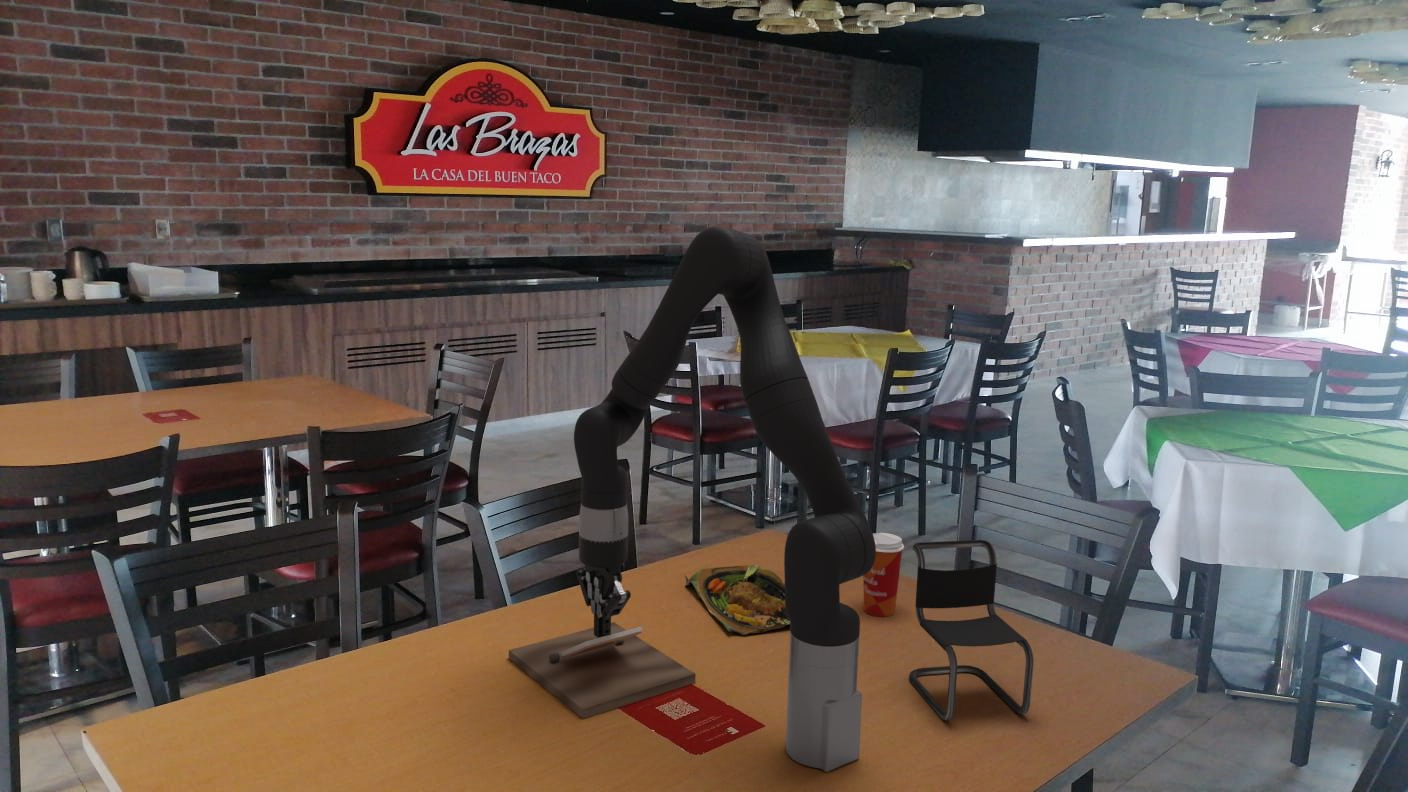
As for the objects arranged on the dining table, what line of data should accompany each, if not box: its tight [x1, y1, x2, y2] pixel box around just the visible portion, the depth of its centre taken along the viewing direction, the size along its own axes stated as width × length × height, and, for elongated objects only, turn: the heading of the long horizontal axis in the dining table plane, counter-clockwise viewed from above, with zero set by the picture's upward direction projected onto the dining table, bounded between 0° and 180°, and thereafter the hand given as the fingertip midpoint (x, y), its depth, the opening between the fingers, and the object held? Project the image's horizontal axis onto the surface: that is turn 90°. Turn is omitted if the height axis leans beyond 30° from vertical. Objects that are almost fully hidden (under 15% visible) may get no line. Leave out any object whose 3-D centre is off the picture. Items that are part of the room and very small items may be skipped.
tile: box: [559, 626, 644, 659], centre depth 160 cm, size 10×10×1 cm
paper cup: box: [862, 532, 905, 618], centre depth 186 cm, size 8×8×14 cm
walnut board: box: [508, 621, 697, 720], centre depth 160 cm, size 24×20×3 cm
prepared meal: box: [684, 564, 790, 636], centre depth 189 cm, size 28×4×18 cm
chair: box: [908, 539, 1035, 722], centre depth 152 cm, size 13×17×22 cm
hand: (602, 636), depth 159 cm, fingers closed
